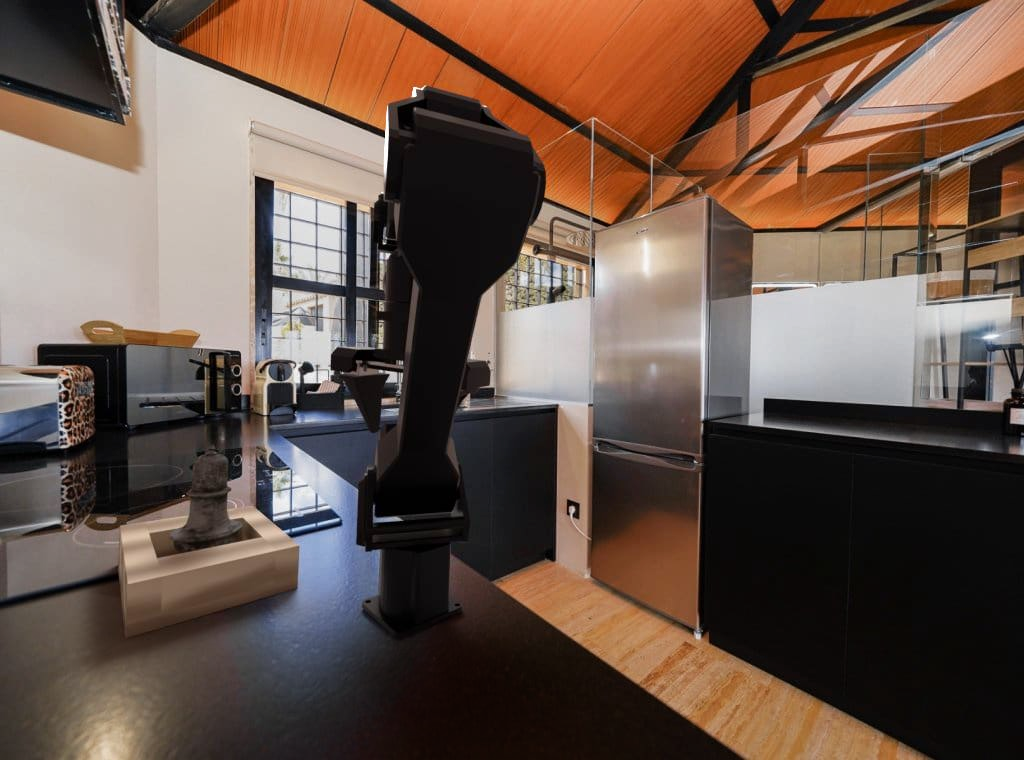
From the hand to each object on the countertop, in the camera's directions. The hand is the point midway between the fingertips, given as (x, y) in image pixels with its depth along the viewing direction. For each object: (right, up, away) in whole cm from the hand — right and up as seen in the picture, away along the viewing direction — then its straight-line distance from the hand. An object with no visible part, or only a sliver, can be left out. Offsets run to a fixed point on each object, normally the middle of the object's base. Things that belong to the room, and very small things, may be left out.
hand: (404, 439), depth 49 cm
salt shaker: (-18, -12, -8) cm, 23 cm away
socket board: (-18, -12, -8) cm, 23 cm away
